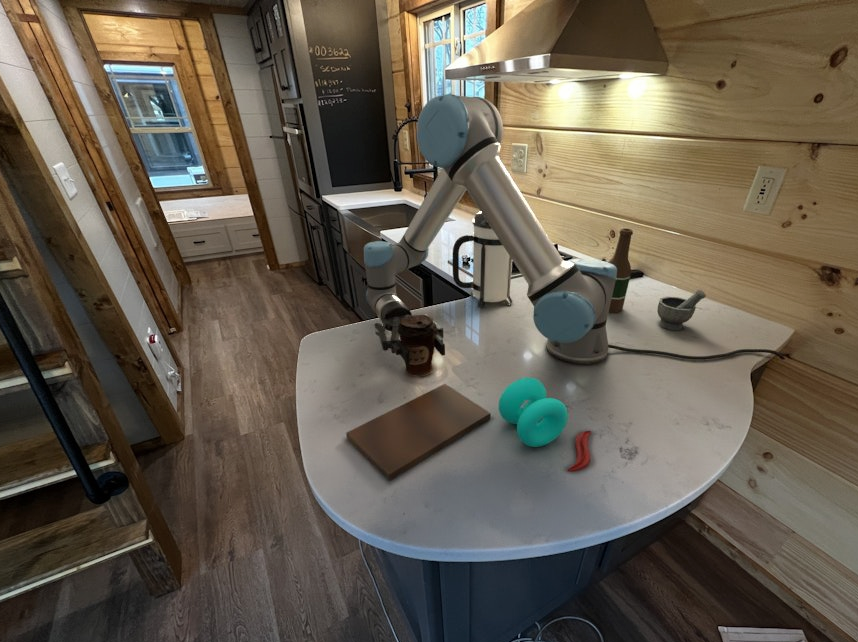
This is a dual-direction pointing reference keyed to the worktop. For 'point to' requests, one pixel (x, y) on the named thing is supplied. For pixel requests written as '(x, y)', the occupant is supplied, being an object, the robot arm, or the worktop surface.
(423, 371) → the coffee cup
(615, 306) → the beer bottle
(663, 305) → the mortar and pestle
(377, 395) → the worktop surface
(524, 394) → the donuts
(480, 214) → the coffee press
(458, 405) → the walnut board
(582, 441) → the cayenne pepper
